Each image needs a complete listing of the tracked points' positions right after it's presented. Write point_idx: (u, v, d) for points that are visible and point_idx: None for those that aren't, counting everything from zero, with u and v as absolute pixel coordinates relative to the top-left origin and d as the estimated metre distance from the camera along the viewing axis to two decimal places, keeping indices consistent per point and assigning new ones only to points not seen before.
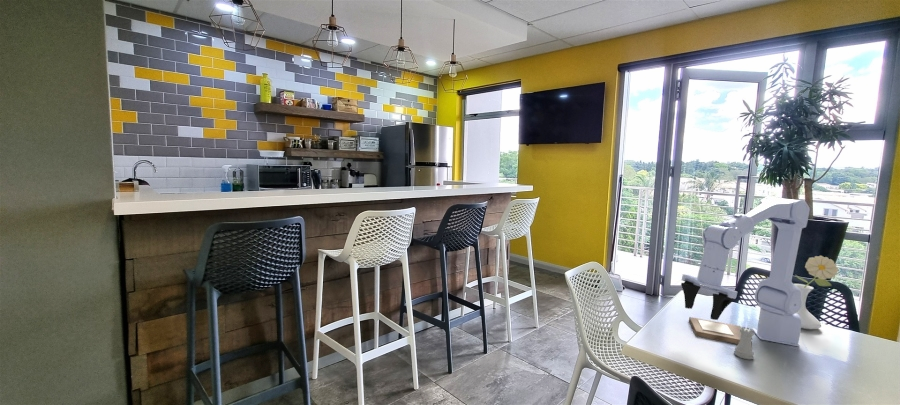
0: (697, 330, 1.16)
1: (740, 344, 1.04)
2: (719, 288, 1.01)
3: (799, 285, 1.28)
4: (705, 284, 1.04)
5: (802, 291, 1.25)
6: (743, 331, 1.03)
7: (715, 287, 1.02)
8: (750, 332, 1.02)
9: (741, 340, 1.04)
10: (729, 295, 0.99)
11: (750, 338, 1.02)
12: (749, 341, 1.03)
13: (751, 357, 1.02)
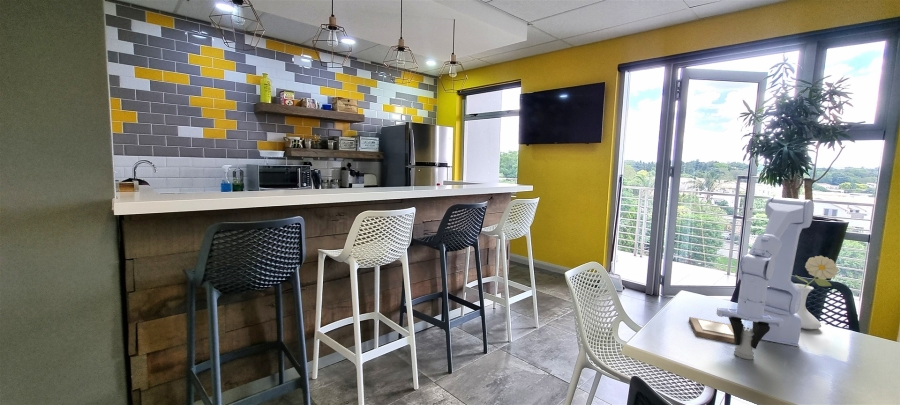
0: (697, 330, 1.16)
1: (740, 344, 1.04)
2: (771, 320, 1.00)
3: (799, 285, 1.28)
4: None
5: (802, 291, 1.25)
6: (743, 331, 1.03)
7: (767, 320, 1.00)
8: (750, 332, 1.02)
9: (741, 340, 1.04)
10: (781, 325, 0.99)
11: (750, 338, 1.02)
12: (749, 341, 1.03)
13: (751, 357, 1.02)
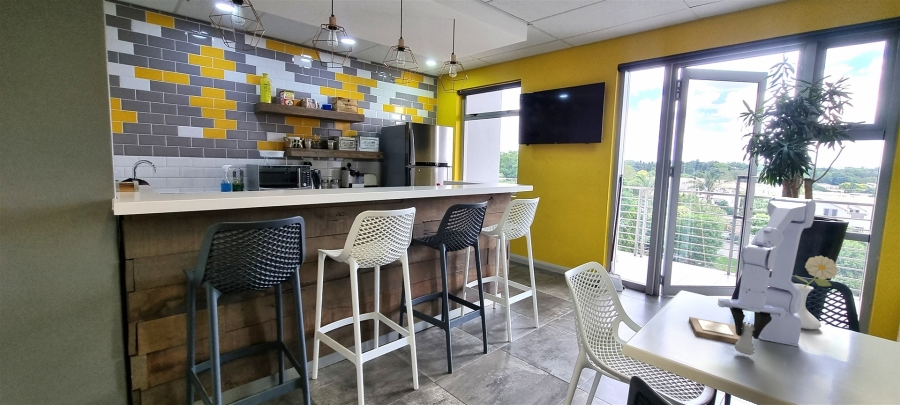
0: (697, 330, 1.16)
1: (741, 339, 1.03)
2: (772, 310, 0.99)
3: (799, 285, 1.28)
4: (760, 310, 0.99)
5: (802, 291, 1.25)
6: (744, 326, 1.03)
7: (769, 310, 0.99)
8: (751, 327, 1.02)
9: (742, 335, 1.04)
10: (782, 315, 0.99)
11: (751, 333, 1.02)
12: (750, 336, 1.02)
13: (752, 352, 1.02)
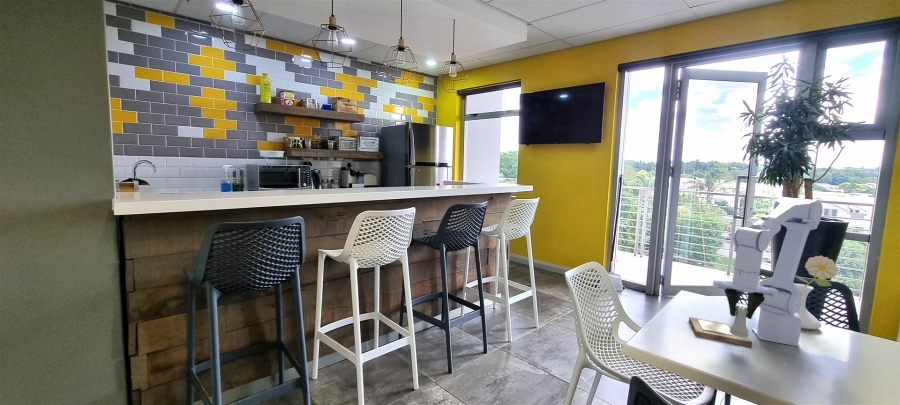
0: (697, 330, 1.16)
1: (735, 322, 1.06)
2: (765, 291, 1.03)
3: (799, 285, 1.28)
4: (753, 290, 1.03)
5: (802, 291, 1.25)
6: (738, 309, 1.06)
7: (762, 291, 1.03)
8: (744, 310, 1.05)
9: (736, 318, 1.07)
10: (775, 295, 1.02)
11: (744, 316, 1.05)
12: (744, 319, 1.05)
13: (746, 335, 1.05)
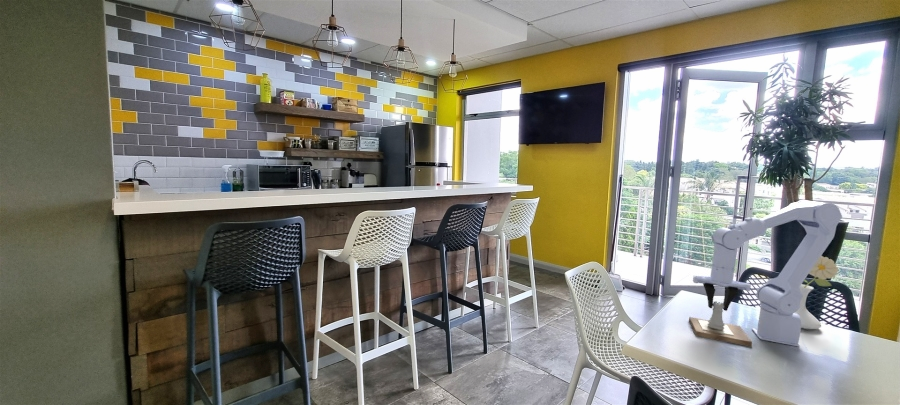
0: (697, 330, 1.16)
1: (713, 316, 1.17)
2: (739, 285, 1.13)
3: None
4: (728, 284, 1.14)
5: (802, 291, 1.25)
6: (715, 304, 1.17)
7: (736, 285, 1.13)
8: (721, 305, 1.16)
9: (713, 313, 1.17)
10: (748, 289, 1.13)
11: (721, 310, 1.16)
12: (720, 313, 1.16)
13: (722, 328, 1.15)
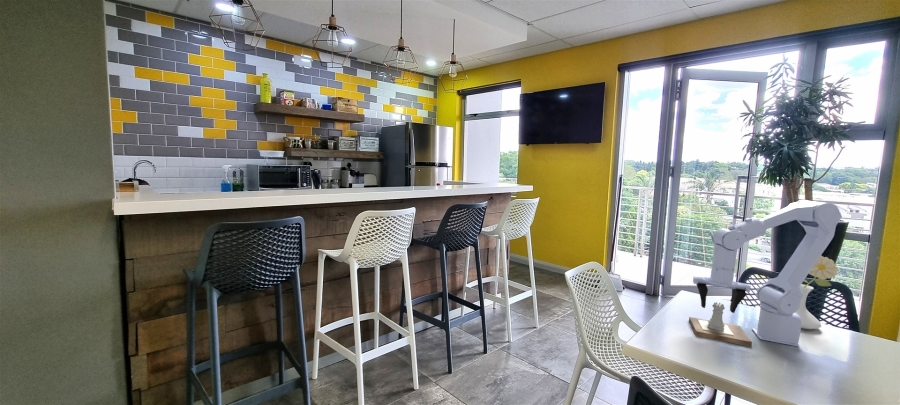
0: (697, 330, 1.16)
1: (713, 317, 1.17)
2: (739, 286, 1.13)
3: None
4: (728, 285, 1.14)
5: (802, 291, 1.25)
6: (715, 306, 1.16)
7: (736, 286, 1.14)
8: (721, 306, 1.15)
9: (713, 314, 1.17)
10: (748, 290, 1.13)
11: (721, 312, 1.15)
12: (720, 315, 1.16)
13: (722, 329, 1.15)
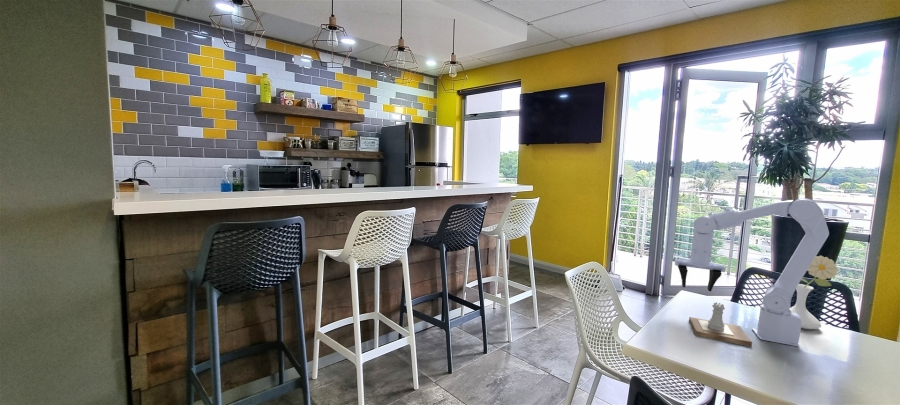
0: (697, 330, 1.16)
1: (713, 317, 1.17)
2: (715, 266, 1.26)
3: (799, 285, 1.28)
4: None
5: (802, 291, 1.25)
6: (715, 306, 1.16)
7: (712, 266, 1.26)
8: (721, 307, 1.15)
9: (713, 314, 1.17)
10: (723, 270, 1.26)
11: (721, 312, 1.15)
12: (720, 315, 1.16)
13: (722, 329, 1.15)
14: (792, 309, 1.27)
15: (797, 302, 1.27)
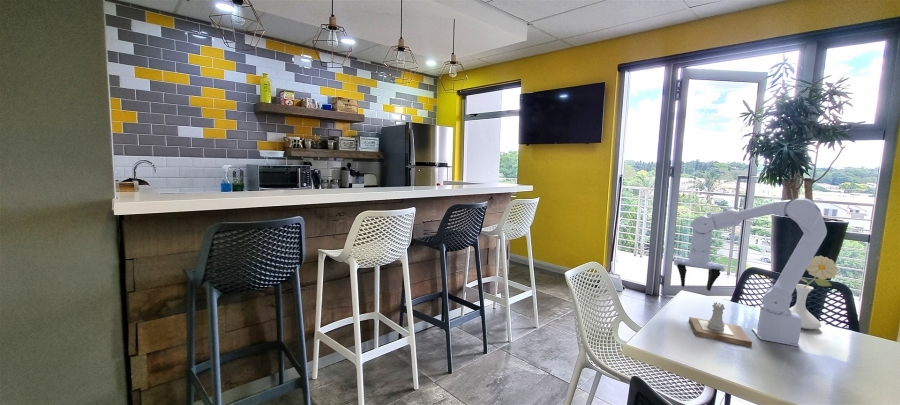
0: (697, 330, 1.16)
1: (713, 317, 1.17)
2: (714, 266, 1.27)
3: (799, 285, 1.28)
4: (704, 266, 1.27)
5: (802, 291, 1.25)
6: (715, 306, 1.16)
7: (711, 266, 1.27)
8: (721, 307, 1.15)
9: (713, 314, 1.17)
10: (722, 270, 1.26)
11: (721, 312, 1.15)
12: (720, 315, 1.16)
13: (722, 329, 1.15)
14: (792, 309, 1.27)
15: (797, 302, 1.27)
